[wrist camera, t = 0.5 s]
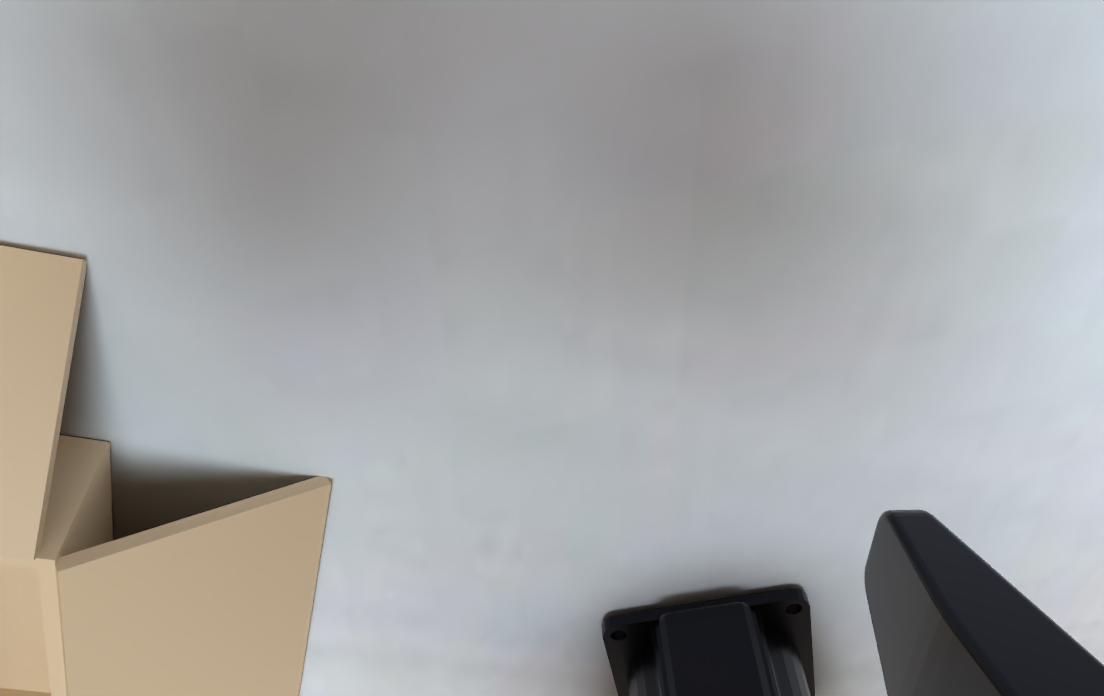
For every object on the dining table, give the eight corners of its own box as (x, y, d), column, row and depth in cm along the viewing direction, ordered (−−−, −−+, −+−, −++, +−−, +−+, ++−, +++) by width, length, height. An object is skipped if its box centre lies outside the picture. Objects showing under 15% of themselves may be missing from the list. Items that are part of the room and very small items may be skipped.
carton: (360, 299, 24) (336, 419, 20) (282, 797, 38) (260, 917, 34) (-387, 168, 21) (-561, 281, 18) (-173, 757, 35) (-246, 884, 31)
